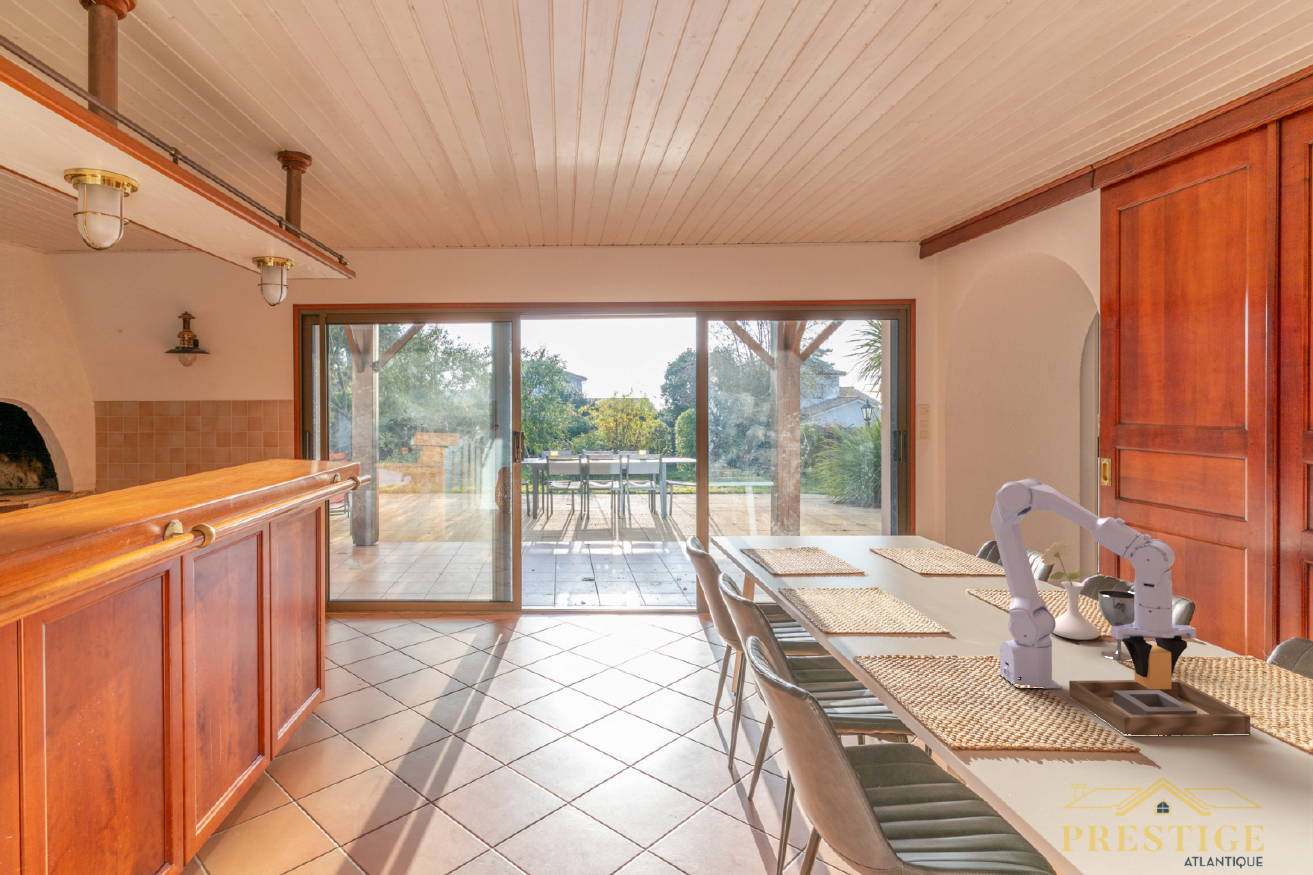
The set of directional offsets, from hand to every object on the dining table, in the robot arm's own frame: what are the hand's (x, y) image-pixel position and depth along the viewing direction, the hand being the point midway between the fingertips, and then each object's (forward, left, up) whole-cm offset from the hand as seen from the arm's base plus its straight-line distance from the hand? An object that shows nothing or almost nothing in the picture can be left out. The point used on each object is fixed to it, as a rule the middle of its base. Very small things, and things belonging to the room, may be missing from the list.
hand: (1153, 675), depth 121 cm
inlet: (0, 0, -8) cm, 8 cm away
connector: (0, 0, -2) cm, 2 cm away
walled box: (0, 0, -8) cm, 8 cm away
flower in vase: (+11, +44, -8) cm, 46 cm away
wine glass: (+14, +30, -8) cm, 34 cm away
